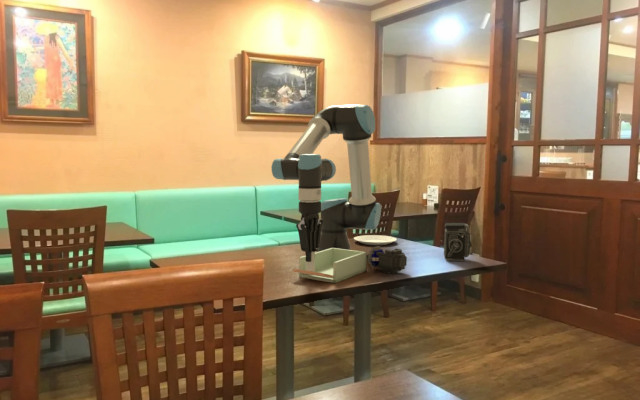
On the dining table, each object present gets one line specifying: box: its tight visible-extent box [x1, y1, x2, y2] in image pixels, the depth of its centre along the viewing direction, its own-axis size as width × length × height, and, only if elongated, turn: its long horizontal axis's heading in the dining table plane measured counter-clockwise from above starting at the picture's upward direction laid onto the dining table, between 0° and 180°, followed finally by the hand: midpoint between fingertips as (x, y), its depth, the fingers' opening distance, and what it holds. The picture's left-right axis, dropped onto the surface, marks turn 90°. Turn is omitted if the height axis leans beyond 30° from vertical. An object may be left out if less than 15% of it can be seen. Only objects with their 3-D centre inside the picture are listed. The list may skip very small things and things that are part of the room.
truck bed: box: [298, 248, 368, 284], centre depth 183 cm, size 15×22×7 cm
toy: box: [367, 245, 408, 275], centre depth 187 cm, size 9×9×15 cm
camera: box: [443, 222, 473, 262], centre depth 208 cm, size 10×10×15 cm
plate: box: [353, 234, 398, 246], centre depth 247 cm, size 21×21×2 cm
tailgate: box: [292, 268, 333, 278], centre depth 172 cm, size 12×1×7 cm
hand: (310, 270), depth 170 cm, fingers closed
